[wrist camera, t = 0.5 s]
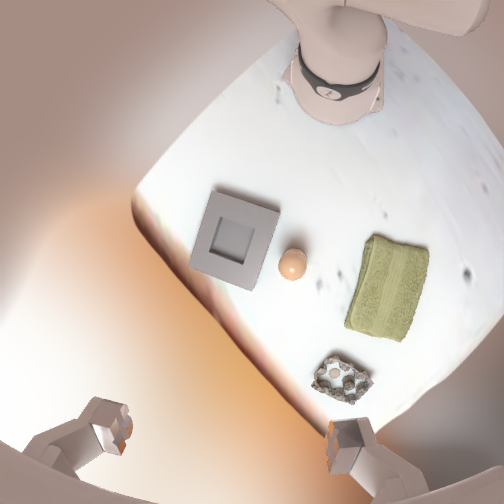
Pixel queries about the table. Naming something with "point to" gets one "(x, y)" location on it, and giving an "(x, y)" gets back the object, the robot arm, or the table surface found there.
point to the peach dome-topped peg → (293, 264)
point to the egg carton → (347, 381)
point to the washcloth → (387, 289)
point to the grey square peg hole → (233, 240)
